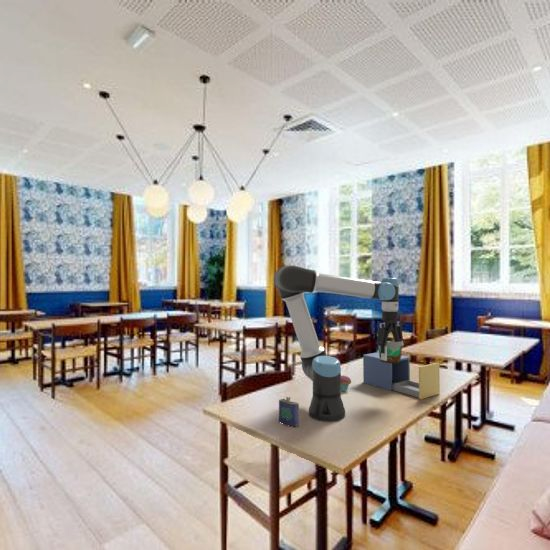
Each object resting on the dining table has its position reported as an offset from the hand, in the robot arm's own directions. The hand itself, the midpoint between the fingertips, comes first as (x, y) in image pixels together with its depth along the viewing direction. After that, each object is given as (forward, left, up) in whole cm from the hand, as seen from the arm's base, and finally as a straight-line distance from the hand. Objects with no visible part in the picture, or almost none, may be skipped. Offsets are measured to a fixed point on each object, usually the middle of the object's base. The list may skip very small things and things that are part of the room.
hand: (390, 358), depth 177 cm
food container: (-1, 0, -2) cm, 2 cm away
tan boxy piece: (+18, 0, -19) cm, 26 cm away
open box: (+18, +18, -19) cm, 32 cm away
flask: (-57, +3, -19) cm, 60 cm away
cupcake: (-8, +24, -19) cm, 32 cm away
